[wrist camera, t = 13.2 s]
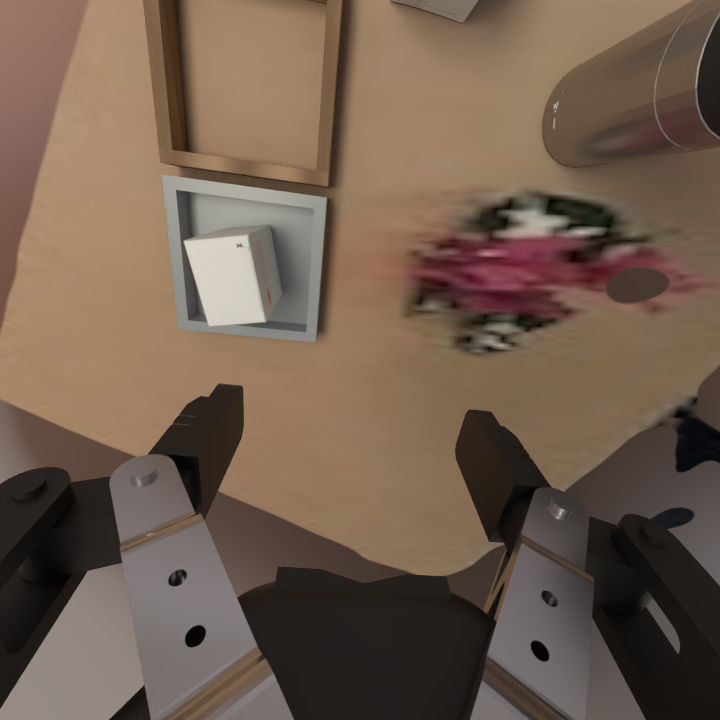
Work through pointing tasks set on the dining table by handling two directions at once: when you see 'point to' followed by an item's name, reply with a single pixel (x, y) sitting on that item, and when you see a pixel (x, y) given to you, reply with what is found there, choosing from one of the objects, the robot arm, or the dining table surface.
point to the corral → (171, 104)
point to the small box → (235, 274)
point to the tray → (245, 209)
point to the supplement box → (444, 7)
